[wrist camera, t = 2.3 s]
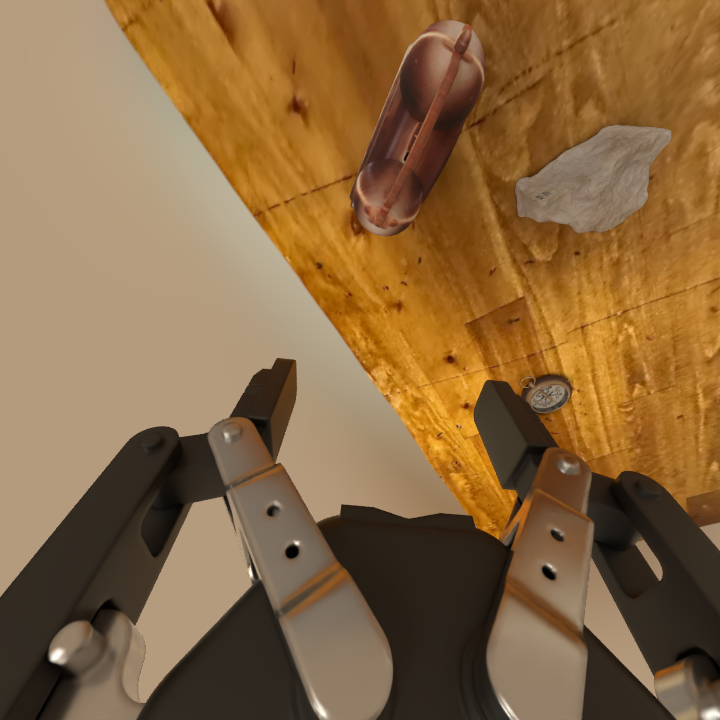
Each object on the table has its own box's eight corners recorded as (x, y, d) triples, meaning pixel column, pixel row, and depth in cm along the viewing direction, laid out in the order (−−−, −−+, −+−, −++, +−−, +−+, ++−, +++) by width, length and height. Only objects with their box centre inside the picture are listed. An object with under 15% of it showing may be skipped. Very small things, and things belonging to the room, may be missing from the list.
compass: (579, 388, 40) (617, 427, 34) (529, 422, 44) (556, 464, 37) (540, 357, 38) (574, 394, 32) (492, 397, 41) (513, 436, 35)
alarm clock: (405, 62, 24) (447, -65, 11) (456, 96, 25) (549, 15, 12) (349, 202, 29) (333, 226, 16) (393, 225, 30) (410, 264, 17)
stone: (515, 251, 31) (542, 266, 26) (507, 164, 27) (538, 162, 22) (620, 217, 29) (672, 225, 24) (629, 117, 25) (693, 102, 20)
